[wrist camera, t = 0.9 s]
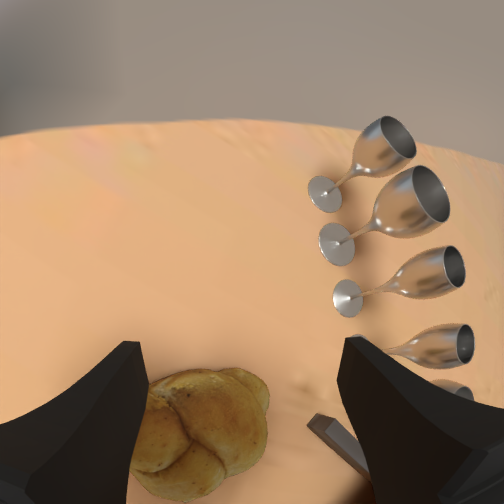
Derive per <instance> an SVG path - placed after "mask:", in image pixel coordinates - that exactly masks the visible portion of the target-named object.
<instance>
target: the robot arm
mask: <svg viewBox="0 0 504 504" xmlns="http://www.w3.org/2000/svg"><path fill="white" fill-rule="evenodd" d="M337 384H338V388H339V392H340V396H341V399H342V403H343V405H344V408H345V410H346V413H347V415H348V417H349V420H350V422H351V424H352V427H353V429H354V431H355V434H356V436H357V438H358V441H359V443H360V445H361V448H362V450H363V453H364V456H365V459H366V463H367V466H368V470H369V474H370V478H371V482H372V486H373V491H374V495H375V500H376V504H504V409H503V408H497V407H493V406H489V405H485V404H481V403H478V402H475V401H472V400H469V399H466V398H463V397H461V396H458V395H456V394H453V393H451V392H449V391H446V390H444V389H442V388H440V387H438V386H436V385H434V384H432V383H430V382H429V381H427V380H425V379H423V378H422V377H420V376H418V375H417V374H415V373H413V372H412V371H410V370H409V369H407V368H406V367H404V366H403V365H401V364H400V363H398V362H397V361H395V360H394V359H393V358H391V357H390V356H388V355H387V354H386V353H384V352H383V351H382V350H380V349H379V348H377V347H376V346H375V345H373V344H372V343H370V342H369V341H368V340H366V339H365V338H363V337H361V336H358V337H348V338H345V343H344V348H343V353H342V358H341V362H340V367H339V372H338V376H337ZM148 389H149V382H148V378H147V374H146V369H145V365H144V360H143V355H142V351H141V346H140V342H134V341H123V342H122V343H121V344H119V345H118V346H117V347H116V348H115V349H114V350H113V351H112V352H111V353H109V354H108V355H107V356H106V357H105V358H104V359H103V360H102V361H101V362H100V363H98V364H97V365H96V366H95V367H94V368H93V369H92V370H91V371H89V372H88V373H87V374H86V375H85V376H83V377H82V378H81V379H80V380H78V381H77V382H76V383H75V384H73V385H72V386H71V387H70V388H68V389H67V390H66V391H64V392H63V393H61V394H60V395H58V396H57V397H55V398H54V399H52V400H51V401H49V402H47V403H46V404H44V405H42V406H40V407H38V408H36V409H34V410H33V411H31V412H29V413H27V414H25V415H23V416H21V417H18V418H16V419H14V420H11V421H9V422H6V423H3V424H0V504H126V495H127V485H128V477H129V469H130V464H131V459H132V455H133V451H134V448H135V444H136V440H137V437H138V433H139V430H140V426H141V423H142V419H143V416H144V412H145V409H146V403H147V396H148Z"/></svg>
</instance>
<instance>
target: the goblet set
mask: <svg viewBox="0 0 504 504" xmlns="http://www.w3.org/2000/svg"><path fill="white" fill-rule="evenodd" d="M416 152H417V150H416V144H415V142H414V139H413V137H412V136H411V134H410V132H409V131H408V130H407V129H406V127H405V126H404V125H403V124H402V123H401V122H399V121H398V120H397V119H395V118H393V117H391V116H383V117H381V118H379V119H378V120H376V121H374V122H373V123H371V124H370V125H369V126H368V127H366V128H365V129H364V131H363V132H362V133H361V134H360V136H359V137H358V139H357V141H356V143H355V145H354V149H353V157H352V165H351V167H350V169H349V171H348V172H347V173H346V174H345V175H344V176H343V177H342V178H341V179H340V180H339V181H338V182H337V183H336V184H335V183H334V182H333V181H332V180H330V179H329V178H327V177H324V176H316V177H314V178H312V179H311V180H310V182H309V184H308V193H309V196H310V199H311V200H312V202H313V203H314V205H315V206H316V207H317V208H319V209H320V210H322V211H324V212H327V213H333V212H336V211H337V210H338V209H339V208H340V207H341V204H342V196H341V192H340V190H339V188H338V186H340V185H341V184H343V183H344V182H346V181H347V180H349V179H351V178H353V177H356V176H367V177H374V178H380V177H386V176H389V175H392V174H394V173H396V172H398V171H400V170H401V169H403V168H404V167H405V166H406V165H407V164H408V163H409V162H410V161H411V160H412V159H413V158H414V157H415V156H416ZM449 216H450V202H449V198H448V195H447V192H446V190H445V188H444V186H443V184H442V182H441V181H440V179H439V178H438V177H437V175H436V174H435V173H434V172H433V171H432V170H430V169H429V168H427V167H426V166H423V165H417V166H414V167H412V168H409V169H407V170H405V171H403V172H401V173H399V174H398V175H396V176H395V177H393V178H392V179H391V180H390V181H389V182H388V183H387V184H386V185H385V186H384V187H383V188H382V190H381V191H380V193H379V194H378V196H377V198H376V201H375V204H374V208H373V213H372V217H371V220H370V221H369V222H368V224H367V225H365V226H364V227H363V228H361V229H360V230H358V231H356V232H355V233H353V234H350V233H349V231H348V230H347V229H346V228H345V227H343V226H342V225H340V224H337V223H329V224H327V225H325V226H324V227H323V228H322V229H321V231H320V233H319V247H320V250H321V252H322V254H323V256H324V257H325V258H326V259H327V260H328V261H329V262H330V263H332V264H334V265H336V266H345V265H347V264H349V263H350V262H351V261H352V259H353V257H354V254H355V244H354V240H353V238H355V237H357V236H359V235H362V234H364V233H367V232H370V231H379V232H382V233H384V234H386V235H389V236H391V237H395V238H401V239H408V238H415V237H419V236H422V235H425V234H427V233H429V232H431V231H433V230H435V229H436V228H438V227H439V226H441V225H442V224H443V223H445V222H446V221H447V220H448V218H449ZM465 277H466V270H465V264H464V260H463V258H462V256H461V254H460V252H459V251H458V249H457V248H455V247H454V246H451V245H448V246H442V247H436V248H432V249H429V250H426V251H423V252H421V253H419V254H417V255H415V256H414V257H412V258H410V259H409V260H408V261H407V262H405V263H404V264H403V265H402V266H401V267H400V269H399V270H398V271H397V272H396V274H395V275H394V276H393V277H392V278H391V279H390V280H389V281H388V282H387V283H385V284H383V285H382V286H380V287H377V288H375V289H372V290H370V291H367V292H363V293H362V291H361V289H360V288H359V286H358V285H357V284H356V283H355V282H354V281H352V280H348V279H345V280H342V281H340V282H339V283H338V284H337V285H336V286H335V288H334V291H333V302H334V305H335V308H336V309H337V311H338V312H339V313H340V314H341V315H342V316H344V317H349V318H350V317H354V316H356V315H357V314H358V313H359V312H360V311H361V309H362V306H363V296H366V295H370V294H375V293H381V292H392V293H396V294H399V295H402V296H405V297H408V298H412V299H432V298H437V297H441V296H443V295H446V294H448V293H450V292H453V291H455V290H456V289H458V288H460V287H461V286H462V285H463V284H464V282H465ZM358 336H361V337H363V338H365V339H366V340H368V339H367V338H366V337H365V336H363V335H360V334H356V335H353V336H351V337H358ZM368 341H369V340H368ZM474 350H475V337H474V333H473V330H472V328H471V327H470V326H469V325H468V324H458V323H450V324H441V325H437V326H433V327H430V328H428V329H426V330H424V331H422V332H420V333H419V334H417V335H416V336H414V337H413V338H412V339H410V340H409V341H408V342H406V343H404V344H403V345H401V346H398V347H395V348H391V349H384V350H382V351H383V352H384V353H386V354H393V355H399V356H402V357H405V358H407V359H409V360H411V361H412V362H414V363H416V364H418V365H420V366H422V367H425V368H430V369H450V368H455V367H459V366H462V365H465V364H468V363H469V362H470V361H471V359H472V357H473V355H474ZM430 383H432V384H434V385H436V386H438V387H440V388H442V389H444V390H446V391H449V392H451V393H453V394H456V395H458V396H461V397H463V398H466V399H469V400H472V401H474V397H473V393H472V391H471V390H470V388H469V387H467V386H465V385H462V384H460V383H457V382H454V381H451V380H445V379H438V380H433V381H430ZM348 418H349V417H348Z"/></svg>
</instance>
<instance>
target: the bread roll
mask: <svg viewBox="0 0 504 504" xmlns="http://www.w3.org/2000/svg"><path fill="white" fill-rule="evenodd" d="M269 396H270V394H269V390H268V387H267V385H266V384H265V383H264V381H263V380H262V379H260V378H259V377H257V376H256V375H254V374H252V373H250V372H248V371H245V370H243V369H240V368H231V369H223V370H220V371H218V372H215V371H211V370H208V369H195V370H187V371H184V372H179V373H176V374H173V375H171V376H168V377H166V378H163V379H161V380H158V381H156V382H154V383H152V384H150V385H149V389H148V396H147V403H146V409H145V412H144V416H143V419H142V423H141V426H140V430H139V433H138V437H137V440H136V444H135V448H134V451H133V455H132V459H131V464H130V469H129V471H130V472H131V473H132V474H133V475H134V476H135V477H136V478H137V480H138V481H139V482H140V483H141V484H142V486H143V487H145V488H146V489H147V490H148V491H149V492H150V493H152V494H153V495H155V496H158V497H161V498H164V499H170V500H175V501H183V502H185V503H186V502H189V501H192V500H193V499H197V498H199V497H202V496H205V495H208V494H209V493H211V492H212V491H213V490H215V489H216V488H217V487H218V486H219V485H220V484H221V482H222V481H223V479H225V478H227V477H230V476H233V475H236V474H239V473H242V472H244V471H246V470H248V469H249V468H251V467H252V466H253V465H254V464H255V463H257V462H258V460H259V459H260V458H261V457H262V455H263V453H264V450H265V447H266V441H267V434H268V432H267V422H266V418H265V415H266V411H267V409H268V406H269Z"/></svg>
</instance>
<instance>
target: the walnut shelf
mask: <svg viewBox="0 0 504 504" xmlns="http://www.w3.org/2000/svg"><path fill="white" fill-rule="evenodd" d="M307 426H308V427H309V428H310V429H311V430H312V431H313V432H314V433H315V434H316V435H317V436H318V437H319V438H320V439H322V440H323V441H324V442H325V443H326V444H327V445H328V446H329V447H330V448H332V449H333V450H334V451H335V452H336V453H337V454H338V455H339V456H340V457H342V458H343V459H344V460H345V461H346V462H347V463H348V464H350V465H351V466H352V467H353V468H354V469H355V470H357V471H358V472H359V473H360V474H361V475H363V476H364V477H365V478H366V479H367V480H368V481H370V482H371V478H370V474H369V470H368V466H367V463H366V459H365V456H364V453H363V450H362V448H361V445H360V443H359V441H357V440H356V439H355V438H354V437H353V436H352V435H351V434H350V433H349V432H348V431H347V430H346V429H345V428H344V427H343V426H342V425H341V424H340V423H339V422H338V421H337V420H336V419H335V418H331V417H328V416H324V415H320V414H316V415H315V416H314V417H313V418H312V420H311V421H310V422H309V423H308V424H307ZM371 483H372V482H371Z"/></svg>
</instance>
